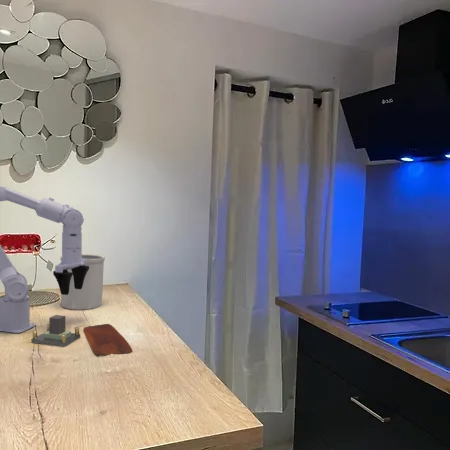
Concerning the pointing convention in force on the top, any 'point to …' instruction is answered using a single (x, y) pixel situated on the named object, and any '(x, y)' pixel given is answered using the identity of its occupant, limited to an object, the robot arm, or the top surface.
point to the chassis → (55, 342)
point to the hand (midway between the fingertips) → (71, 291)
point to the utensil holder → (86, 286)
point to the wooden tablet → (106, 340)
